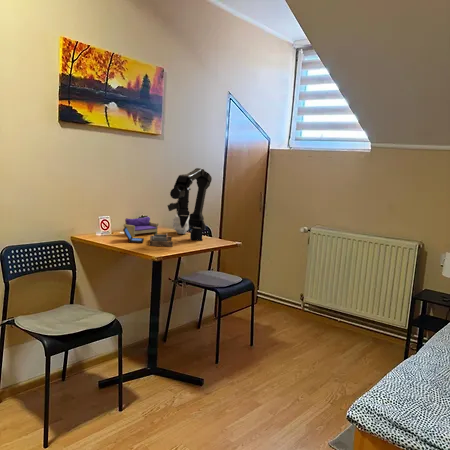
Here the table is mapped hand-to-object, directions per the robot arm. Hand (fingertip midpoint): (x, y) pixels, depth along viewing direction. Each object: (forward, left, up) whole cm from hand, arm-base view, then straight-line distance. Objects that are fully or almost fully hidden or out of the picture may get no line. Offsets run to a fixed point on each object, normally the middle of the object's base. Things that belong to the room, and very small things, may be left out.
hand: (181, 226), depth 252 cm
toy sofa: (+23, -27, -10) cm, 37 cm away
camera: (-2, -37, -10) cm, 38 cm away
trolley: (+11, 0, -10) cm, 15 cm away
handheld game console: (+26, -3, -10) cm, 28 cm away
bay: (+11, 0, -10) cm, 15 cm away
